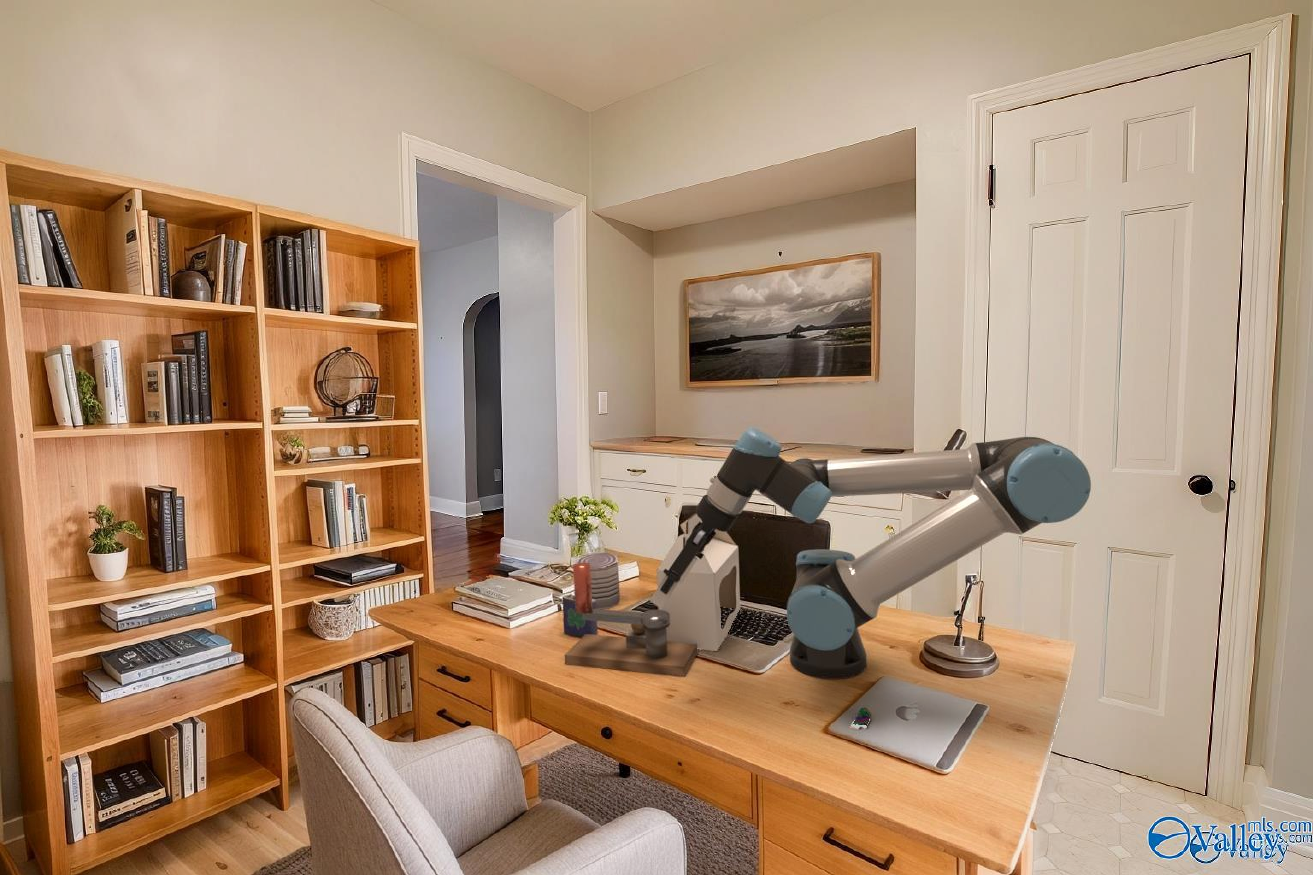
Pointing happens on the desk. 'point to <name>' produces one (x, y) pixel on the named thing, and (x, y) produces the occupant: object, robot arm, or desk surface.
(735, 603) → the gable box
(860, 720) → the green rounded lump
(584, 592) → the lever
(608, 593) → the can
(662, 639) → the wooden base plate
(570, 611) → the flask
